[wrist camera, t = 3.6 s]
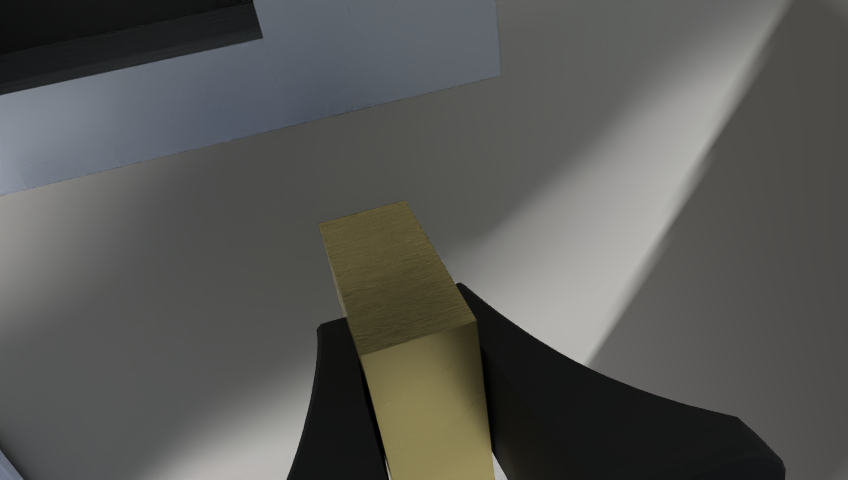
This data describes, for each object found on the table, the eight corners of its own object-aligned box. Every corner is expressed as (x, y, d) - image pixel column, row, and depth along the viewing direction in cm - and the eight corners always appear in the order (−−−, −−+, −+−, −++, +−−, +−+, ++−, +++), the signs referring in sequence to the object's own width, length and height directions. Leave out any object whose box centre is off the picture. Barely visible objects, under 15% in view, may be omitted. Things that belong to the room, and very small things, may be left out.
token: (361, 383, 17) (406, 533, 13) (318, 223, 14) (361, 356, 10) (432, 361, 17) (497, 500, 13) (405, 200, 14) (476, 320, 10)
